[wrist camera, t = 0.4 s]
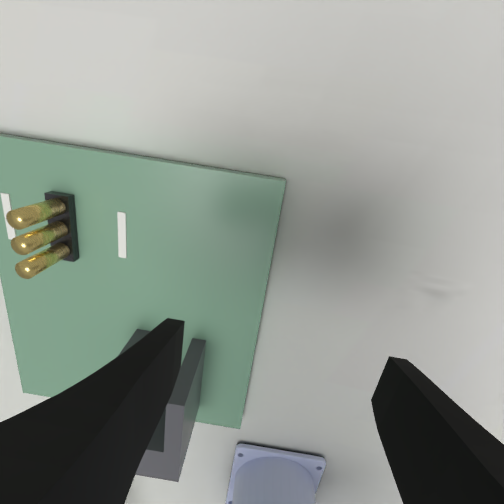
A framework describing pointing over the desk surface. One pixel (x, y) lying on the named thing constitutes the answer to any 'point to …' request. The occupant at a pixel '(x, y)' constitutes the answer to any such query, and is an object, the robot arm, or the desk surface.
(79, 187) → the circuit board
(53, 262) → the pin header
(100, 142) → the desk surface
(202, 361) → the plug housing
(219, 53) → the desk surface
